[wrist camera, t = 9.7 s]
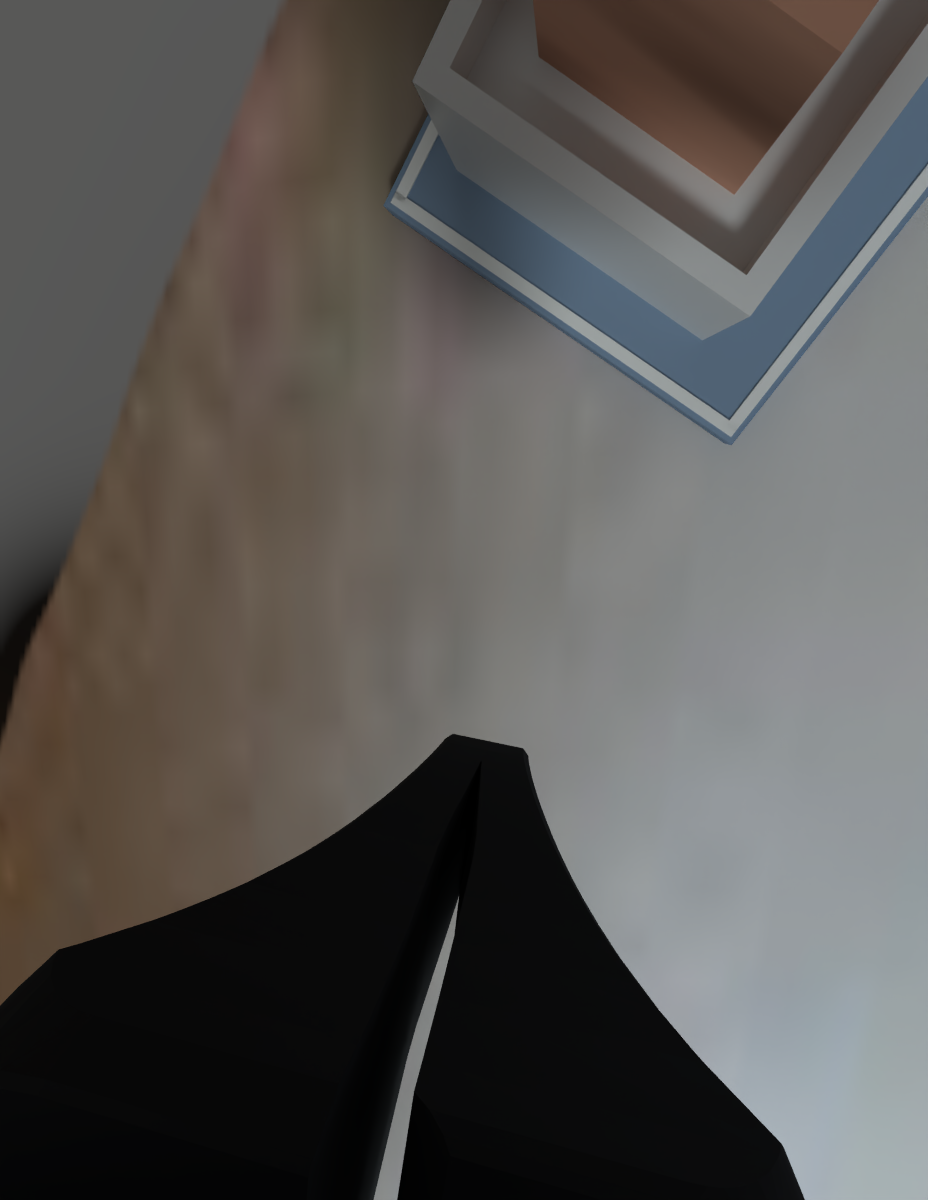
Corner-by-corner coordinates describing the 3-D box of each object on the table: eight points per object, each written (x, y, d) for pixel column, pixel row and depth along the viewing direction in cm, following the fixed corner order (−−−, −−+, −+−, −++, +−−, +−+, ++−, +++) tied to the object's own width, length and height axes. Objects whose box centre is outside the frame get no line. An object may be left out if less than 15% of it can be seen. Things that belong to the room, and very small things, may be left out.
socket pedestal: (646, -195, 13) (681, -490, 9) (937, 14, 13) (1111, -174, 9) (456, 170, 15) (412, 80, 11) (702, 340, 16) (750, 316, 11)
